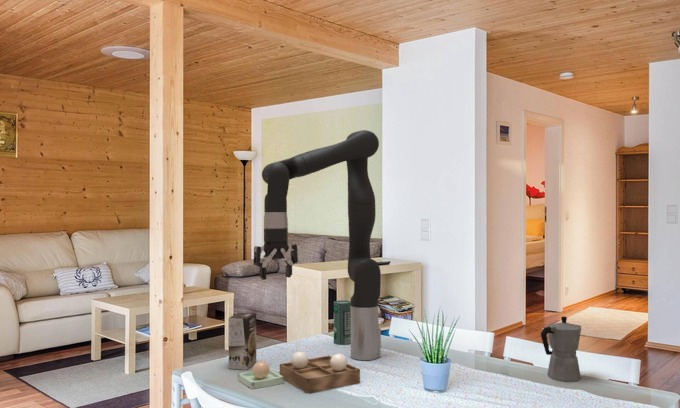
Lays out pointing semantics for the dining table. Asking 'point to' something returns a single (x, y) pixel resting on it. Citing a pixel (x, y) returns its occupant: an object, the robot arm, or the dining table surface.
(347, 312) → the can
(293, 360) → the white egg
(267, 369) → the brown egg
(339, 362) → the white egg
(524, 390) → the dining table surface
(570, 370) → the coffeepot
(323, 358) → the egg tray
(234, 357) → the coffee box
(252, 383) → the dish
